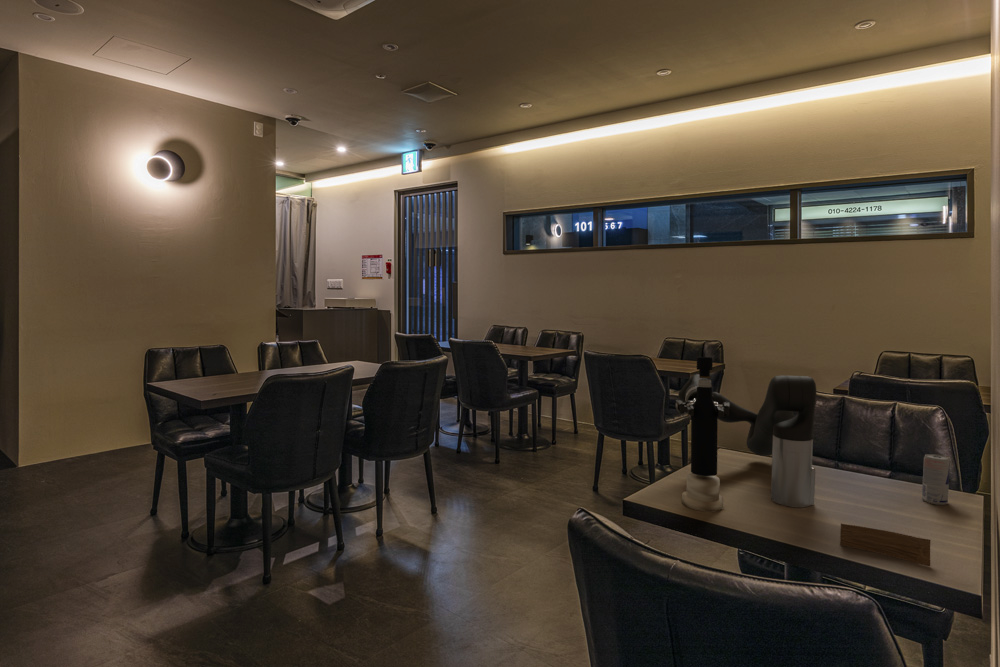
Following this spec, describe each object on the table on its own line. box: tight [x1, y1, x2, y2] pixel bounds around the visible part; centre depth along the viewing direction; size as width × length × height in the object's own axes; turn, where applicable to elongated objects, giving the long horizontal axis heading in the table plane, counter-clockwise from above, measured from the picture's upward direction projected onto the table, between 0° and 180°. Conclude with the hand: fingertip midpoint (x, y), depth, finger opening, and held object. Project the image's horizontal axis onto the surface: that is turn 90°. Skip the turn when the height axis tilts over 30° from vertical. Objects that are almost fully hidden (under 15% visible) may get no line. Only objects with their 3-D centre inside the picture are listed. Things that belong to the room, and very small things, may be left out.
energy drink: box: [921, 453, 951, 506], centre depth 145 cm, size 5×5×12 cm
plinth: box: [681, 472, 724, 512], centre depth 143 cm, size 10×10×7 cm
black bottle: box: [690, 356, 719, 476], centre depth 143 cm, size 6×6×30 cm
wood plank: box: [839, 523, 932, 567], centre depth 114 cm, size 15×2×5 cm, turn 55°
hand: (705, 413), depth 139 cm, fingers closed on black bottle, 6 cm apart
